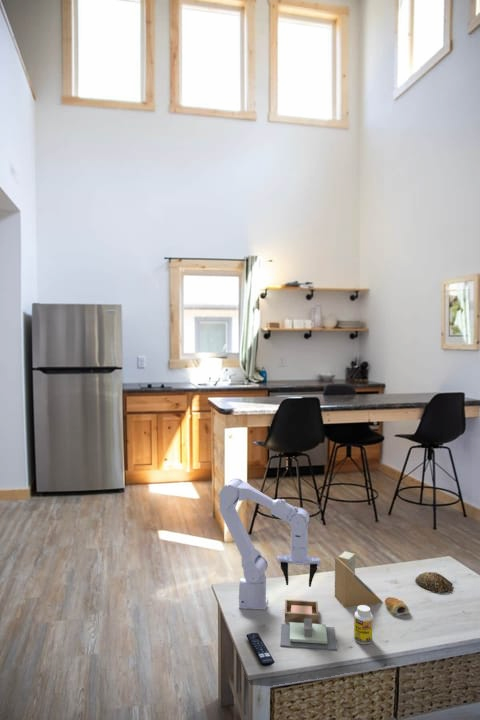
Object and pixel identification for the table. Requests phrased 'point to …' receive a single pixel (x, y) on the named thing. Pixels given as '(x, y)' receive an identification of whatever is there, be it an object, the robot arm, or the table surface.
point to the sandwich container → (351, 588)
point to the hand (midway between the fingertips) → (298, 584)
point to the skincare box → (348, 560)
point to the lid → (308, 632)
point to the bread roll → (434, 582)
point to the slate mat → (287, 643)
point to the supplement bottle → (363, 625)
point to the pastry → (396, 606)
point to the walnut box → (301, 611)
